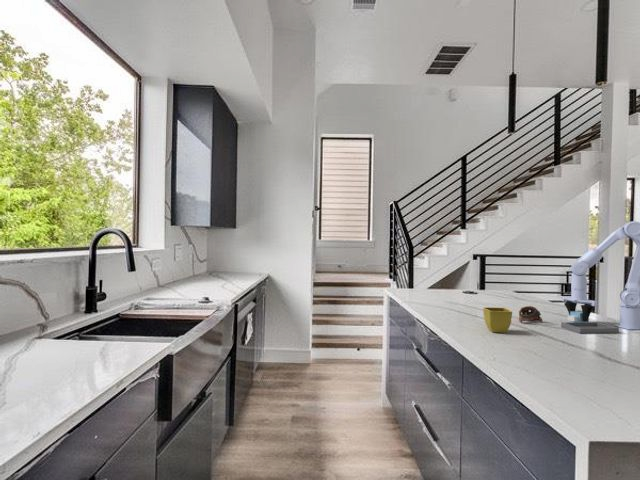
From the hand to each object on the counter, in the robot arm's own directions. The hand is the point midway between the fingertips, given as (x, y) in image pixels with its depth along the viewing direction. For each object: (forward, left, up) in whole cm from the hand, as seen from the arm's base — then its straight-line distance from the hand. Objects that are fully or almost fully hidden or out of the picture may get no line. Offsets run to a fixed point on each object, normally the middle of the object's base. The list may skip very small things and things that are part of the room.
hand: (578, 320), depth 177 cm
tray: (+5, +13, -1) cm, 14 cm away
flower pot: (+43, +13, -2) cm, 45 cm away
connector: (0, 0, -1) cm, 1 cm away
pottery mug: (+20, -4, -2) cm, 21 cm away
